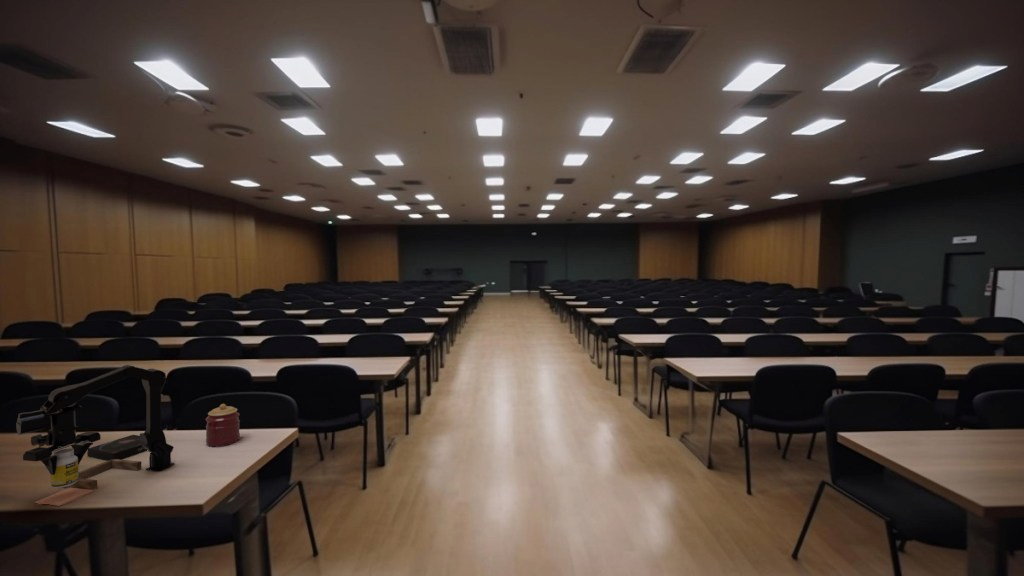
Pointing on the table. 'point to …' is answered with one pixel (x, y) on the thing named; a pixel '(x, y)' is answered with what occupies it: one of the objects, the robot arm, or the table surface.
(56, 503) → the terracotta mat
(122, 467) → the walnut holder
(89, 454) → the portable cd player
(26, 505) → the table surface
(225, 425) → the canister
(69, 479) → the pill bottle
